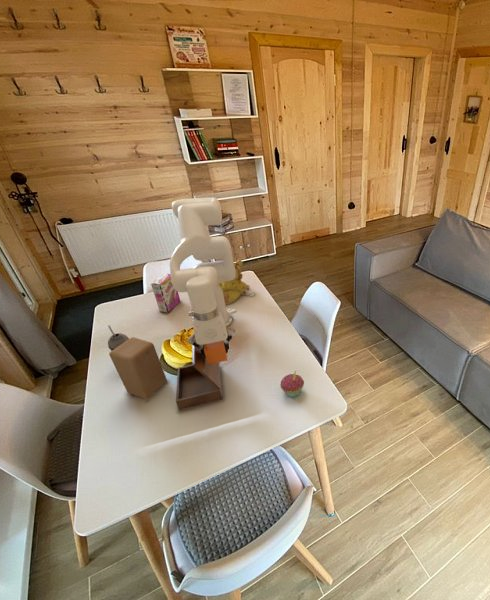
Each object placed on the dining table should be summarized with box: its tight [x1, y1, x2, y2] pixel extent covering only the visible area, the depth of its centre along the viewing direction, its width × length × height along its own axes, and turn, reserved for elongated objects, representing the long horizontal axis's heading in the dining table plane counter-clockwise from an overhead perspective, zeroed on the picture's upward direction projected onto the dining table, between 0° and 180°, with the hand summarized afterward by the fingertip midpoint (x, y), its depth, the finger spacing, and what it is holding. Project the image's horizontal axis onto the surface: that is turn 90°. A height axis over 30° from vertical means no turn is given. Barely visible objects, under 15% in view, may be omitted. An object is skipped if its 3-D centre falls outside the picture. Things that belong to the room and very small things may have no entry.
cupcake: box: [279, 370, 305, 397], centre depth 123 cm, size 9×8×12 cm
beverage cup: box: [107, 324, 130, 352], centre depth 130 cm, size 7×7×20 cm
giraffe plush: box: [217, 259, 255, 305], centre depth 178 cm, size 20×24×19 cm
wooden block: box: [108, 336, 168, 400], centre depth 121 cm, size 10×10×20 cm
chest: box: [175, 364, 223, 411], centre depth 125 cm, size 14×17×5 cm
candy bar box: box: [150, 273, 181, 314], centre depth 168 cm, size 11×5×16 cm, turn 172°
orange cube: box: [204, 341, 228, 365], centre depth 120 cm, size 7×7×7 cm
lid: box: [191, 339, 222, 390], centre depth 121 cm, size 15×17×1 cm
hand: (216, 352), depth 121 cm, fingers closed on orange cube, 6 cm apart
